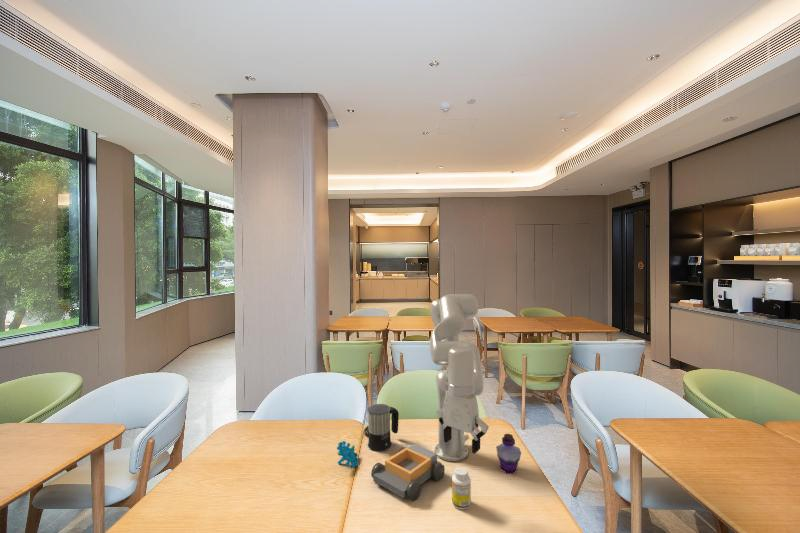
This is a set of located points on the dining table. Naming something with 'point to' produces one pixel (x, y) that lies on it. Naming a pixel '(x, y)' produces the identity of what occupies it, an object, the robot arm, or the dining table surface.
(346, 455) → the gear
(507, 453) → the potion bottle
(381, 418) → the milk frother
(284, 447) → the dining table surface
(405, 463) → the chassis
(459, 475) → the supplement bottle
